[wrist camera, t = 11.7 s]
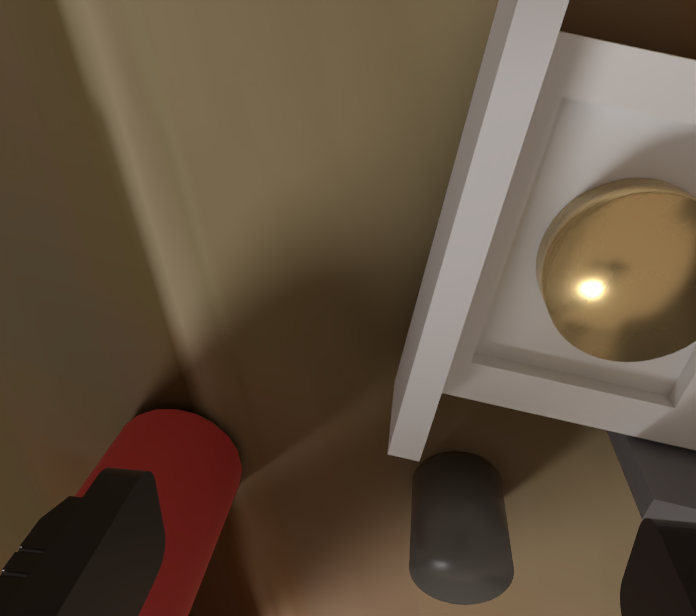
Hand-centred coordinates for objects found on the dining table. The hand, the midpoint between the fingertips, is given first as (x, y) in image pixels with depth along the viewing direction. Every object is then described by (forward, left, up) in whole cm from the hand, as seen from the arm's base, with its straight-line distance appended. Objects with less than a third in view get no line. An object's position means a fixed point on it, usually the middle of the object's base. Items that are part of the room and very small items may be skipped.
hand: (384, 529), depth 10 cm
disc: (+8, +1, -14) cm, 16 cm away
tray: (+8, +1, -14) cm, 16 cm away
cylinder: (+5, -13, -16) cm, 21 cm away
